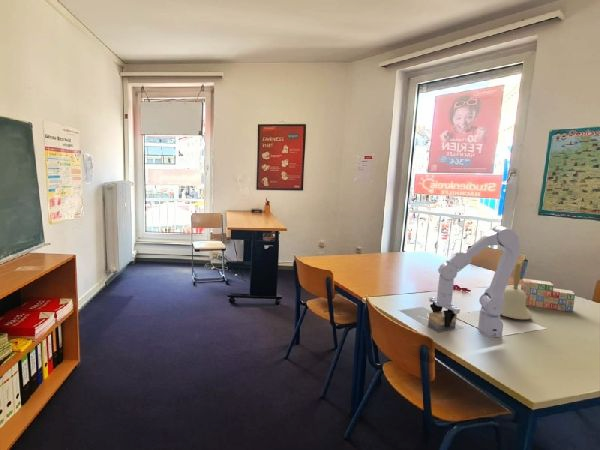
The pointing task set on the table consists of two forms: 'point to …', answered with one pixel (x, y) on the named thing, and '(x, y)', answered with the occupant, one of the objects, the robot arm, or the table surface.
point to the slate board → (425, 318)
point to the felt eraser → (439, 320)
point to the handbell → (515, 299)
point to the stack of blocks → (547, 295)
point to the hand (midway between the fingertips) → (441, 323)
